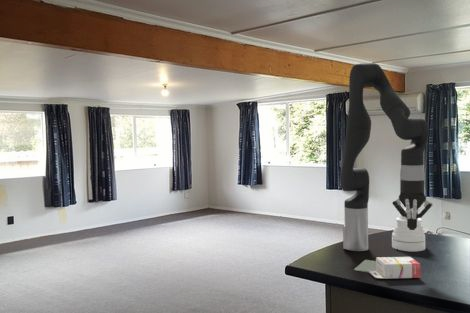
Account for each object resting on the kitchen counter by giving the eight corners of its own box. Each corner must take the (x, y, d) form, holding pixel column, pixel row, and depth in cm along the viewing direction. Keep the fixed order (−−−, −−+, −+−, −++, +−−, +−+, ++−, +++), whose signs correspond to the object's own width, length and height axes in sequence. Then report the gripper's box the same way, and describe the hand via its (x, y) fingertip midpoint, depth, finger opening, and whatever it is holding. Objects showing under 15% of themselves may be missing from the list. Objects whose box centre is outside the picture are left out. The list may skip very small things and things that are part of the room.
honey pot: (428, 245, 184) (427, 202, 183) (422, 252, 173) (422, 207, 173) (395, 242, 191) (395, 200, 190) (388, 249, 180) (388, 205, 179)
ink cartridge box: (421, 262, 142) (375, 264, 142) (421, 278, 142) (375, 279, 142) (409, 255, 151) (366, 257, 150) (409, 270, 151) (367, 271, 150)
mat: (354, 270, 153) (354, 269, 153) (365, 260, 164) (365, 259, 164) (402, 277, 145) (402, 275, 145) (410, 266, 156) (410, 265, 156)
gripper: (389, 178, 148) (389, 229, 149) (431, 180, 141) (431, 234, 142) (394, 176, 154) (394, 225, 155) (435, 178, 147) (435, 229, 148)
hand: (412, 229), depth 149 cm, fingers closed
